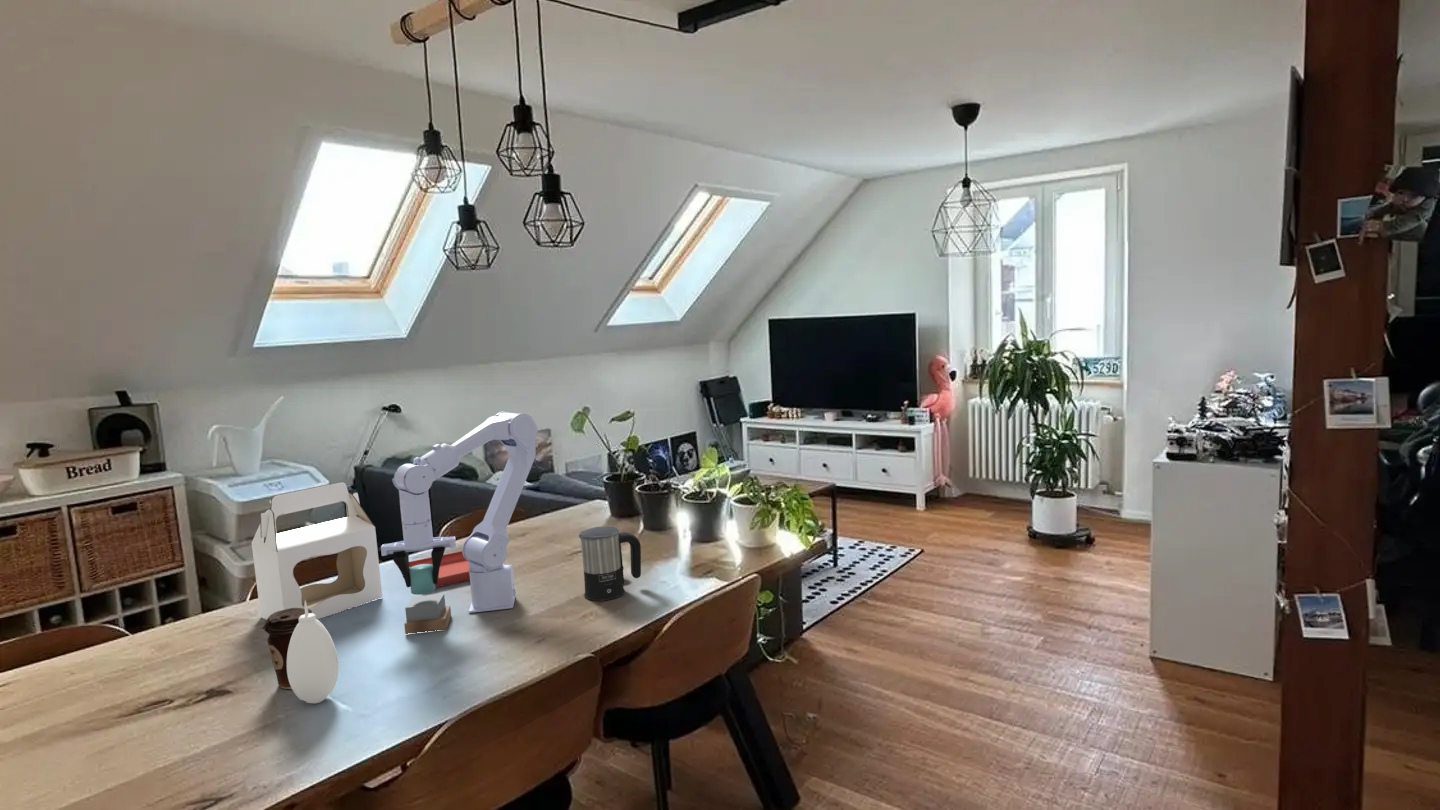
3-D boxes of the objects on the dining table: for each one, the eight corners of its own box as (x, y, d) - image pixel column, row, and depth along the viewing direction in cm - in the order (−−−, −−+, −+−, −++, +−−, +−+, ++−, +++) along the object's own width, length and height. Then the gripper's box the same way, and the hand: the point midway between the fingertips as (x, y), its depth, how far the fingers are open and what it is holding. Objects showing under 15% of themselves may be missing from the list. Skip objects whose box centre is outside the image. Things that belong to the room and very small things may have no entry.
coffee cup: (268, 697, 139) (259, 626, 137) (270, 679, 146) (262, 611, 144) (324, 684, 143) (316, 615, 141) (323, 667, 150) (315, 601, 148)
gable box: (356, 588, 195) (343, 476, 192) (384, 598, 187) (371, 481, 183) (259, 618, 178) (243, 496, 174) (285, 630, 170) (269, 502, 166)
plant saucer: (497, 576, 199) (496, 564, 199) (423, 594, 189) (421, 580, 189) (475, 559, 214) (474, 548, 214) (405, 575, 204) (404, 562, 204)
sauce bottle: (289, 716, 132) (276, 612, 129) (293, 696, 139) (281, 597, 136) (341, 705, 135) (329, 603, 132) (342, 686, 142) (331, 589, 140)
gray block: (445, 607, 172) (444, 593, 171) (439, 618, 165) (437, 604, 165) (414, 610, 171) (412, 596, 170) (406, 621, 164) (405, 607, 164)
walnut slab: (451, 618, 173) (450, 605, 173) (446, 632, 165) (444, 618, 165) (412, 623, 171) (411, 609, 171) (405, 637, 164) (404, 623, 163)
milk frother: (597, 605, 175) (592, 539, 173) (561, 588, 187) (556, 527, 185) (649, 587, 184) (645, 525, 183) (612, 573, 196) (607, 514, 194)
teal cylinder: (439, 586, 169) (437, 563, 169) (428, 594, 165) (426, 571, 164) (418, 586, 170) (415, 563, 169) (406, 594, 165) (404, 571, 165)
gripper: (454, 512, 171) (460, 573, 173) (382, 520, 168) (389, 582, 169) (451, 520, 164) (457, 584, 166) (376, 528, 161) (383, 593, 162)
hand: (422, 584), depth 167 cm, fingers closed on teal cylinder, 5 cm apart
